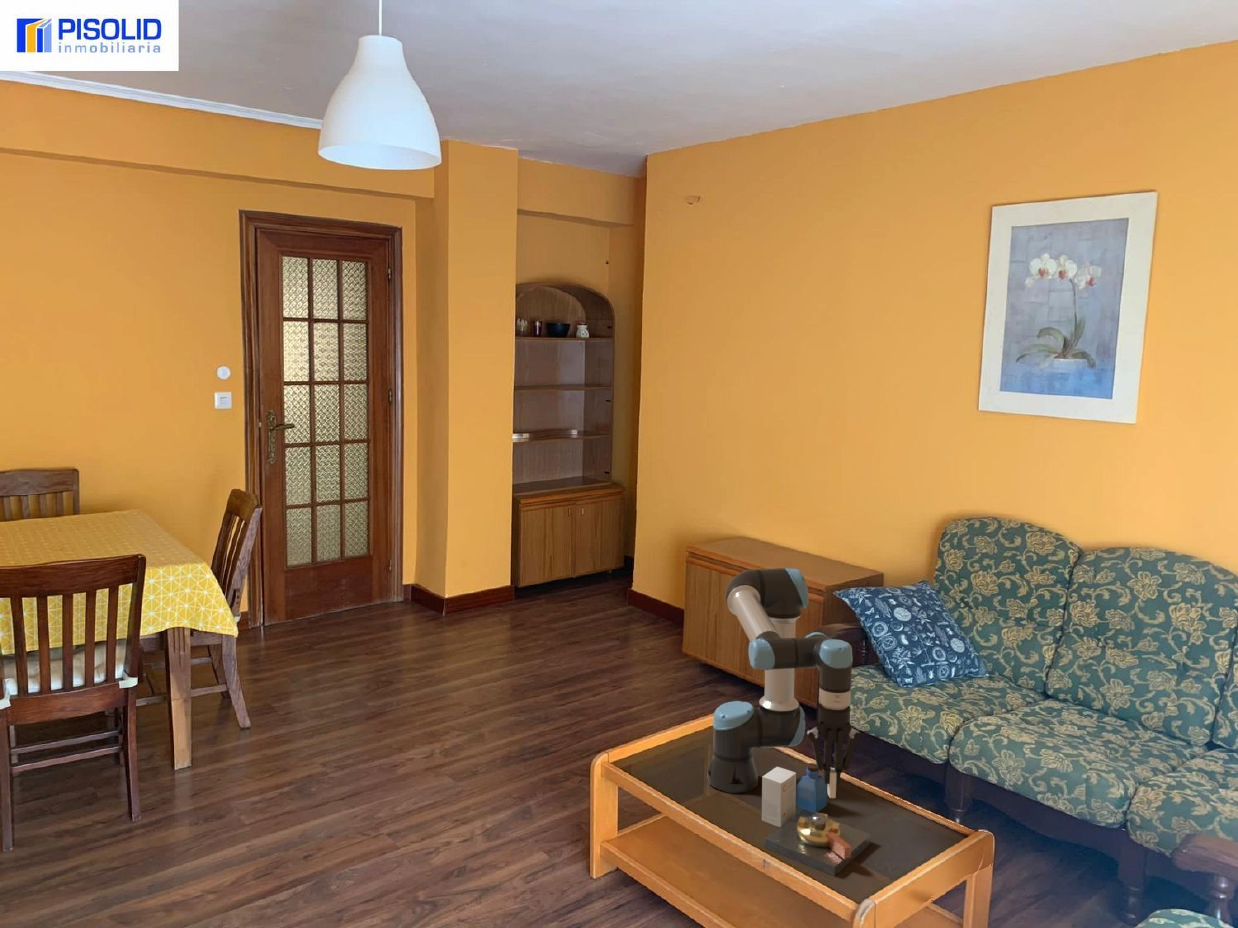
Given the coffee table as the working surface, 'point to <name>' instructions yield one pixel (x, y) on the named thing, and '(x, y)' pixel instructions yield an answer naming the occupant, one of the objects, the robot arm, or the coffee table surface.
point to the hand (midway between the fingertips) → (831, 795)
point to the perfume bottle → (812, 790)
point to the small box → (778, 796)
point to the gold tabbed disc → (823, 836)
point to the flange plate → (814, 856)
